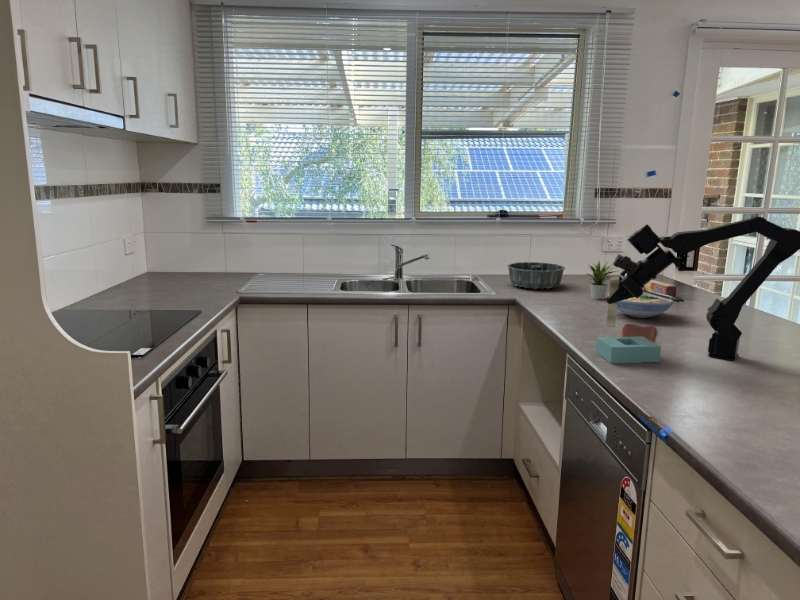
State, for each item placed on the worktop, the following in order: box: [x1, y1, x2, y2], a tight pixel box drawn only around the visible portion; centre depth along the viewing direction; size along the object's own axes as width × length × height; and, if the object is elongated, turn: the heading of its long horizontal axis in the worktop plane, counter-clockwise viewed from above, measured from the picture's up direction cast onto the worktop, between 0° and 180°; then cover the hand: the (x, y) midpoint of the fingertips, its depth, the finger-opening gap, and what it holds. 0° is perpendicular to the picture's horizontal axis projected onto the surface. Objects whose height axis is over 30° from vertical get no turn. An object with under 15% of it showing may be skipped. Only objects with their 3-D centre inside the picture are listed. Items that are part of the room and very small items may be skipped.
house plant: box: [585, 260, 620, 300], centre depth 234 cm, size 14×14×16 cm
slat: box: [606, 276, 619, 328], centre depth 165 cm, size 4×2×14 cm, turn 160°
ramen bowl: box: [607, 291, 685, 319], centre depth 205 cm, size 25×23×8 cm
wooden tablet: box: [621, 323, 656, 343], centre depth 179 cm, size 27×10×2 cm, turn 155°
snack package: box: [643, 279, 677, 298], centre depth 245 cm, size 21×7×7 cm, turn 17°
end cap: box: [595, 336, 662, 364], centre depth 156 cm, size 10×14×4 cm
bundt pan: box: [507, 261, 566, 290], centre depth 264 cm, size 26×26×10 cm
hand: (607, 301), depth 165 cm, fingers closed on slat, 4 cm apart
